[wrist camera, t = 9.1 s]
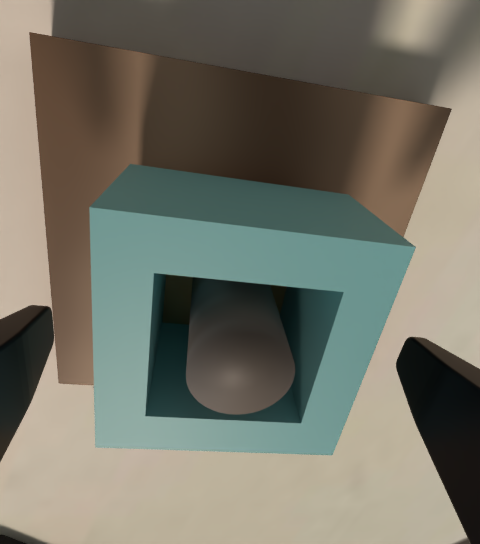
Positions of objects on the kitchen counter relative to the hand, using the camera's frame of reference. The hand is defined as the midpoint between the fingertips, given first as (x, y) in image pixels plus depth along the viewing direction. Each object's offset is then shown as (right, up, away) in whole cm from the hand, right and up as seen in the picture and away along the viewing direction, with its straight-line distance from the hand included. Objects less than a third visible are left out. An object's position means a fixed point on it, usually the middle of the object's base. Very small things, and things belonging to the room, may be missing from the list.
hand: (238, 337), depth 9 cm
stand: (-1, +3, +5) cm, 6 cm away
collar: (0, +1, +3) cm, 3 cm away
